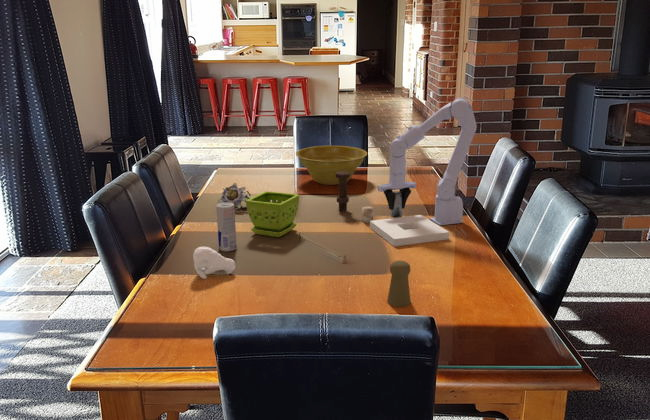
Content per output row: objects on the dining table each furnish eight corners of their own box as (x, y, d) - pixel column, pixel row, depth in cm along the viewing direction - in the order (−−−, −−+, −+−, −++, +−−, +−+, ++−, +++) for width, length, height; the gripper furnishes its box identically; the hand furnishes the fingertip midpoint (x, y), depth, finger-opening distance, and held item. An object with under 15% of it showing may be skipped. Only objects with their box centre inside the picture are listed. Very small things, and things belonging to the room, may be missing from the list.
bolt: (348, 213, 228) (348, 174, 223) (334, 212, 229) (334, 174, 224) (350, 208, 233) (350, 171, 229) (337, 208, 234) (337, 170, 230)
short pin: (370, 219, 221) (370, 206, 219) (374, 222, 217) (374, 209, 216) (360, 220, 220) (360, 207, 218) (364, 223, 216) (364, 210, 215)
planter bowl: (368, 190, 258) (369, 160, 254) (294, 190, 259) (293, 160, 255) (365, 172, 289) (365, 145, 285) (298, 173, 290) (297, 145, 286)
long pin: (399, 214, 223) (399, 190, 220) (403, 217, 219) (404, 193, 217) (389, 215, 222) (389, 191, 219) (393, 218, 218) (394, 194, 216)
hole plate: (420, 221, 218) (421, 214, 217) (448, 239, 200) (449, 232, 199) (369, 227, 212) (370, 220, 211) (394, 246, 193) (394, 239, 193)
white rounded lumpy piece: (193, 243, 172) (235, 244, 175) (193, 271, 175) (234, 271, 177) (192, 251, 166) (236, 252, 169) (192, 279, 169) (235, 280, 171)
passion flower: (233, 224, 233) (213, 201, 229) (236, 210, 243) (217, 189, 238) (255, 209, 230) (236, 186, 226) (258, 196, 240) (239, 174, 235)
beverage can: (239, 247, 194) (237, 202, 189) (231, 253, 189) (229, 207, 184) (224, 245, 196) (221, 201, 191) (215, 251, 191) (212, 206, 186)
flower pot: (301, 228, 211) (300, 194, 207) (282, 241, 199) (280, 204, 195) (266, 223, 217) (265, 189, 213) (246, 235, 205) (244, 199, 201)
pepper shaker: (385, 297, 158) (386, 258, 154) (408, 296, 158) (409, 257, 155) (389, 307, 152) (390, 267, 149) (413, 306, 152) (414, 266, 149)
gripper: (410, 168, 222) (409, 203, 226) (374, 171, 217) (374, 207, 221) (419, 172, 215) (418, 208, 219) (382, 176, 211) (381, 213, 215)
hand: (396, 208), depth 220 cm, fingers closed on long pin, 4 cm apart
